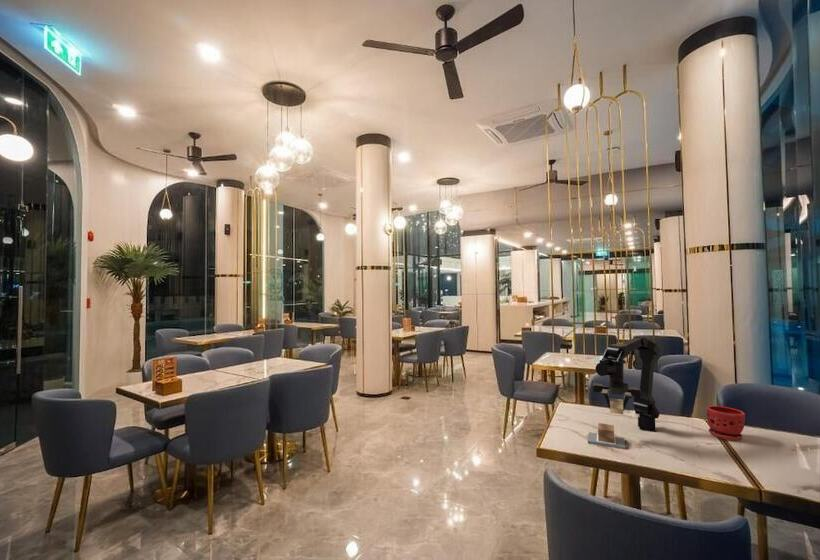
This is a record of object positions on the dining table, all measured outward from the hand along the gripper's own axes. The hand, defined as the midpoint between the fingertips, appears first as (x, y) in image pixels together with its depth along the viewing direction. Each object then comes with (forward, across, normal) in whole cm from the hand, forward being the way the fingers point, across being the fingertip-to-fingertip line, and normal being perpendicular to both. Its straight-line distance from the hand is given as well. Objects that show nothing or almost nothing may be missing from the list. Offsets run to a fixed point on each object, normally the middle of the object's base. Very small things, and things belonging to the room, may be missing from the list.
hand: (616, 409), depth 170 cm
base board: (+13, -4, -6) cm, 15 cm away
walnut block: (+11, -4, -6) cm, 14 cm away
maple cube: (+1, 0, 0) cm, 1 cm away
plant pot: (+12, +43, +23) cm, 50 cm away
